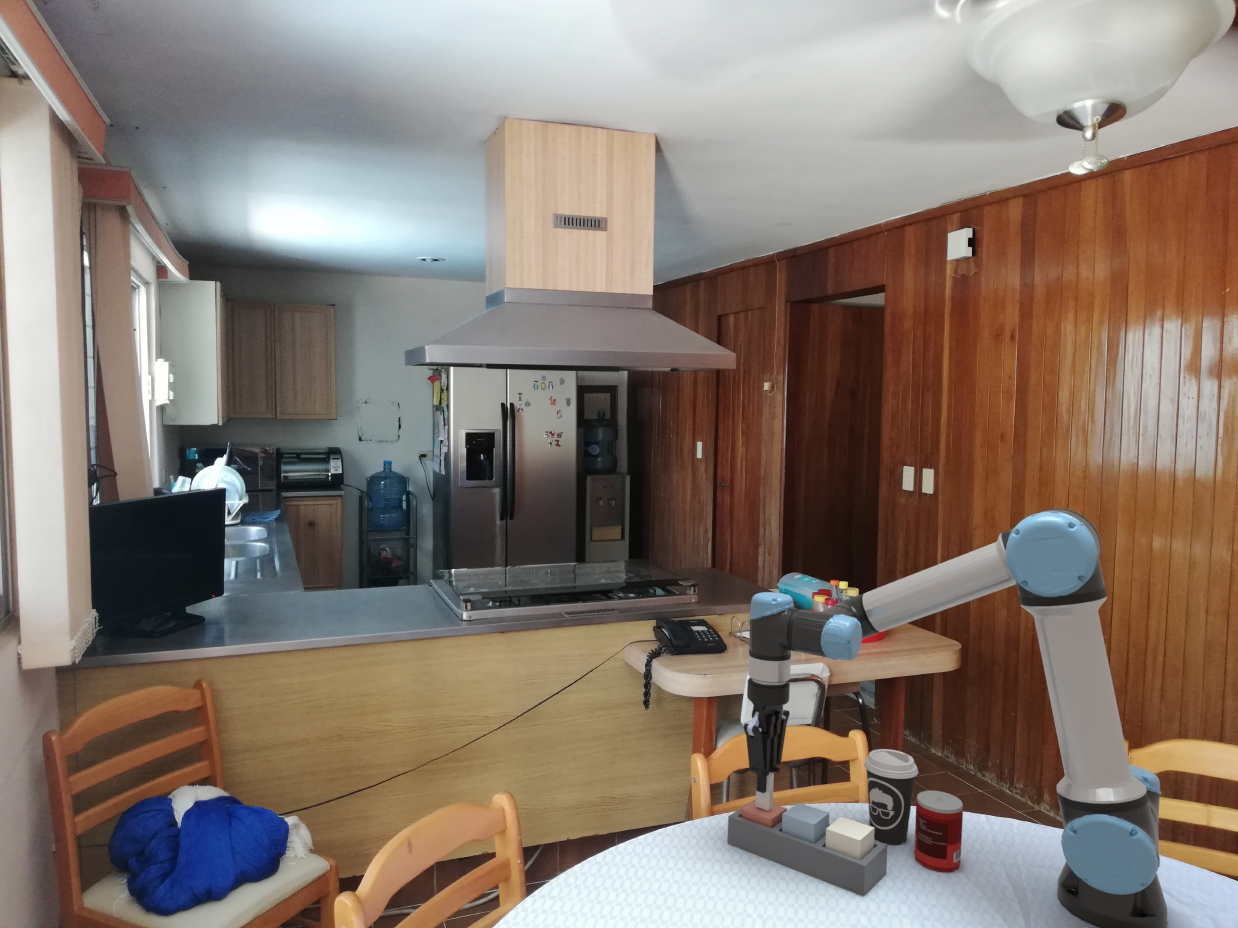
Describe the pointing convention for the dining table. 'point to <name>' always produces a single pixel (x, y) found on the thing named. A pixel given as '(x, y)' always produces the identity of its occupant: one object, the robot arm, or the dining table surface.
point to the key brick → (763, 814)
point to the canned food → (938, 830)
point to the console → (809, 855)
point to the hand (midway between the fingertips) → (764, 807)
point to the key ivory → (850, 838)
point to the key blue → (805, 822)
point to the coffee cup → (890, 794)
